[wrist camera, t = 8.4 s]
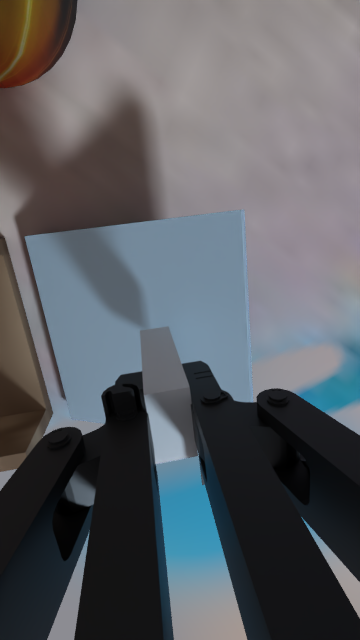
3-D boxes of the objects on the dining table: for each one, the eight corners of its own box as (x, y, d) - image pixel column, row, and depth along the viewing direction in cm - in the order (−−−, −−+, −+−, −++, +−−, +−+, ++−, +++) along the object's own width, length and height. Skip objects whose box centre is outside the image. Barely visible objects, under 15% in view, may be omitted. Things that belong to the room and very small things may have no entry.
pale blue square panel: (244, 209, 15) (241, 209, 14) (254, 433, 19) (252, 444, 18) (36, 234, 20) (24, 236, 19) (79, 411, 24) (71, 419, 23)
